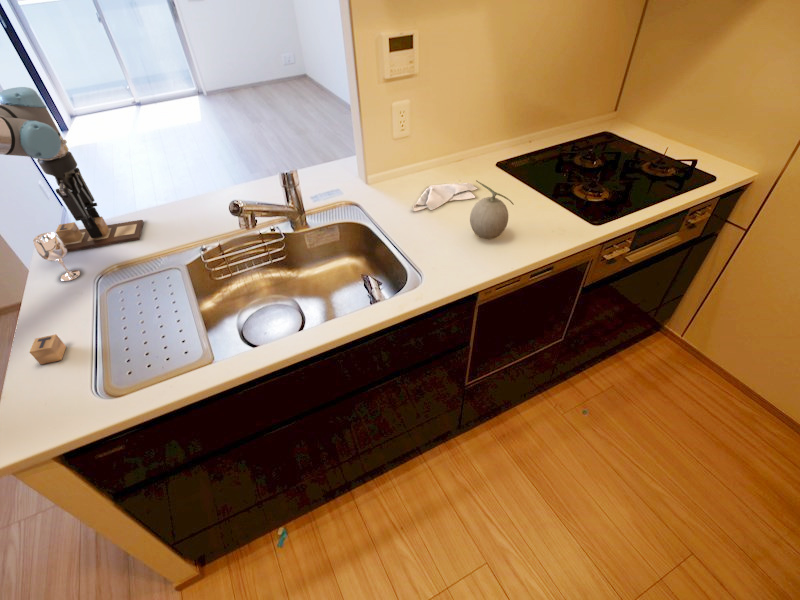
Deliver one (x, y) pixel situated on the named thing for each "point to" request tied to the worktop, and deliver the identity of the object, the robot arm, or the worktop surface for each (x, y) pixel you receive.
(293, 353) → the worktop surface
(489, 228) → the fruit
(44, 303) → the worktop surface
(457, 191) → the cloth
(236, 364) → the worktop surface
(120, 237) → the board
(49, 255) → the wineglass
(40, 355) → the tile
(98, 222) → the tile
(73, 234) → the tile
